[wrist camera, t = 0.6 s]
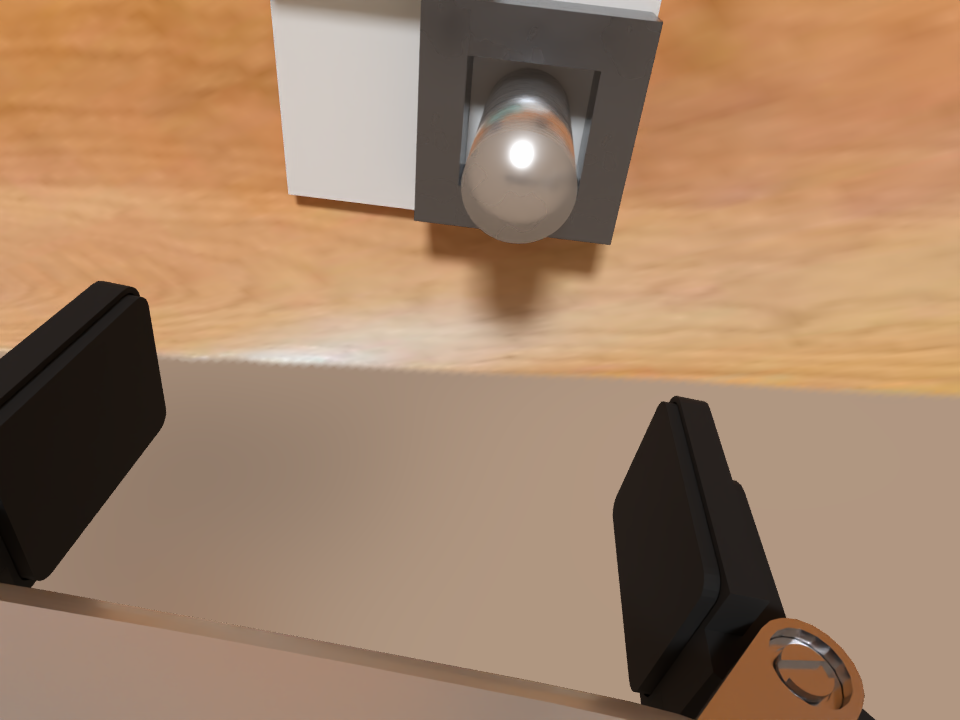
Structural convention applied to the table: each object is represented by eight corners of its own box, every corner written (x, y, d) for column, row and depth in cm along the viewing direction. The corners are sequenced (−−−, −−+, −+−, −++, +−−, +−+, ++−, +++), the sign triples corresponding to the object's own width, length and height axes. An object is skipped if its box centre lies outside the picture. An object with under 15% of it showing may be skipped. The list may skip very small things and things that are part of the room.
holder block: (652, 12, 27) (663, 22, 24) (605, 220, 32) (610, 245, 30) (432, -14, 27) (421, -7, 24) (424, 197, 32) (414, 220, 30)
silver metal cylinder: (577, 73, 28) (587, 138, 20) (562, 160, 31) (566, 250, 22) (489, 62, 28) (465, 123, 20) (481, 150, 31) (456, 236, 23)
